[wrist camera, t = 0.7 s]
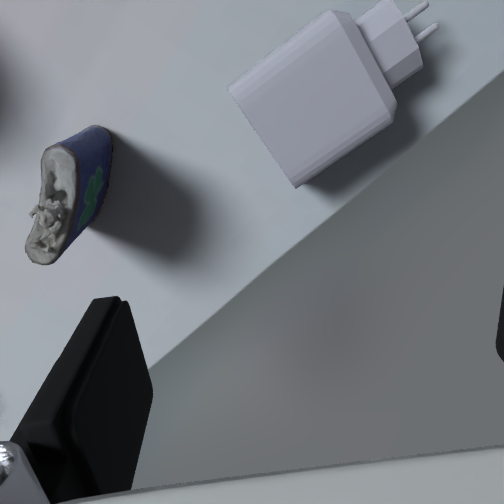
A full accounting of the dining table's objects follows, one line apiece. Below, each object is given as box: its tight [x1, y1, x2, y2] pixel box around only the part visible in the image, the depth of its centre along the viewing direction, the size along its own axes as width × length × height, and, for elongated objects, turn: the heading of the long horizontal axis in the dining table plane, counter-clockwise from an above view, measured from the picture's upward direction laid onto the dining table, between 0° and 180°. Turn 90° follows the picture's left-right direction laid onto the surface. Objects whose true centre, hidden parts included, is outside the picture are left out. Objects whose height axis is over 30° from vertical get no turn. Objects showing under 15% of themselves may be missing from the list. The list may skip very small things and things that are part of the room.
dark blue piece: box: [25, 125, 113, 265], centre depth 32 cm, size 9×3×11 cm, turn 159°
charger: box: [227, 0, 439, 189], centre depth 32 cm, size 5×9×15 cm
